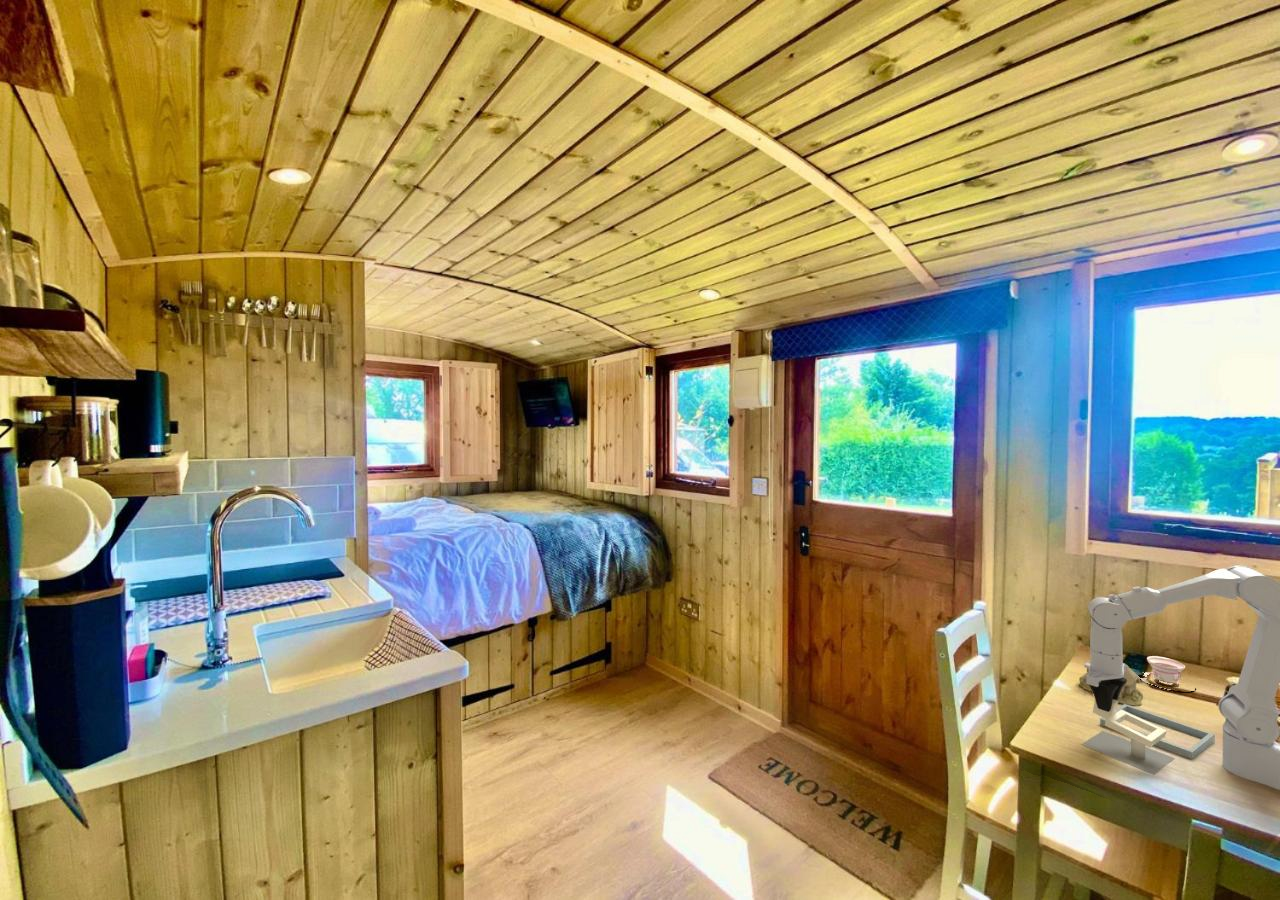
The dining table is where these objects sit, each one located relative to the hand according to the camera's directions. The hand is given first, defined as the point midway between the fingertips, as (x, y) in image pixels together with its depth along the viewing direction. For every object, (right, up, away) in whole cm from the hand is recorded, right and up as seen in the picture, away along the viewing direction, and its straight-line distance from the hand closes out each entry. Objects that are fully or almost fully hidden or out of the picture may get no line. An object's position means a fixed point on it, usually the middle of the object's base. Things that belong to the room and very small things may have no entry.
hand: (1106, 708), depth 126 cm
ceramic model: (+23, -8, +25) cm, 35 cm away
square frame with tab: (+2, -3, -3) cm, 4 cm away
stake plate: (+2, -9, -3) cm, 10 cm away
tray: (+15, -9, +4) cm, 18 cm away
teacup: (+43, -7, +30) cm, 53 cm away
